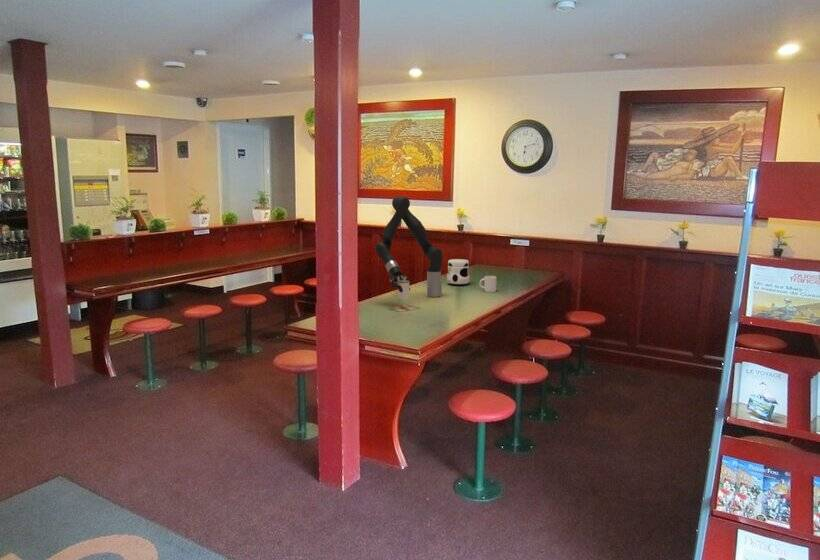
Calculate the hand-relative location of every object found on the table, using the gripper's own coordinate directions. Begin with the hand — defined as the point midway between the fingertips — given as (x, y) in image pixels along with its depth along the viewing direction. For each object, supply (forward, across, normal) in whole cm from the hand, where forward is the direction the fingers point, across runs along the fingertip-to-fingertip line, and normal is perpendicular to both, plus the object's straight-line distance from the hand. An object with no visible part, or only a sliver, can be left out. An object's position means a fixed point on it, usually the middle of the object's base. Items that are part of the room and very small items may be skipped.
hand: (405, 291), depth 354 cm
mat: (+7, 0, +9) cm, 11 cm away
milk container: (-17, +79, +33) cm, 88 cm away
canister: (+2, 0, +5) cm, 5 cm away
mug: (+4, +78, +11) cm, 79 cm away
